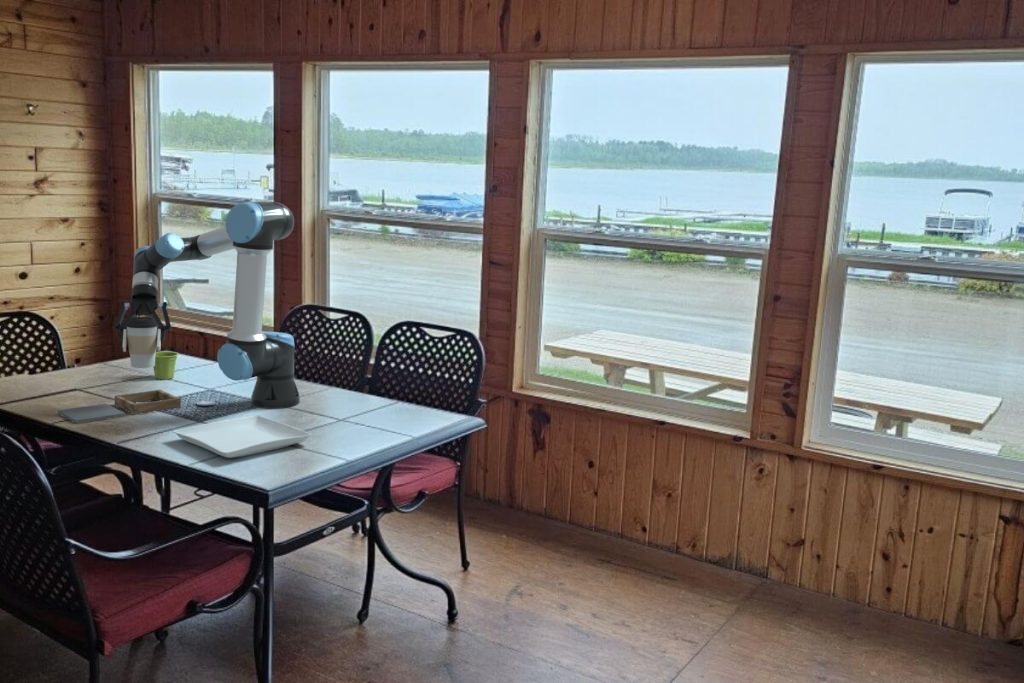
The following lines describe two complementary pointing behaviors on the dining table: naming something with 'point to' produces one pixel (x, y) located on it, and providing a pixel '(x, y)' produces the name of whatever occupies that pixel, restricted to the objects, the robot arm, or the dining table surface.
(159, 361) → the plant pot
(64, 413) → the rubber mat
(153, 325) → the coffee cup
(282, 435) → the square plate
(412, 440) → the dining table surface
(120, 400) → the brown wooden tray
